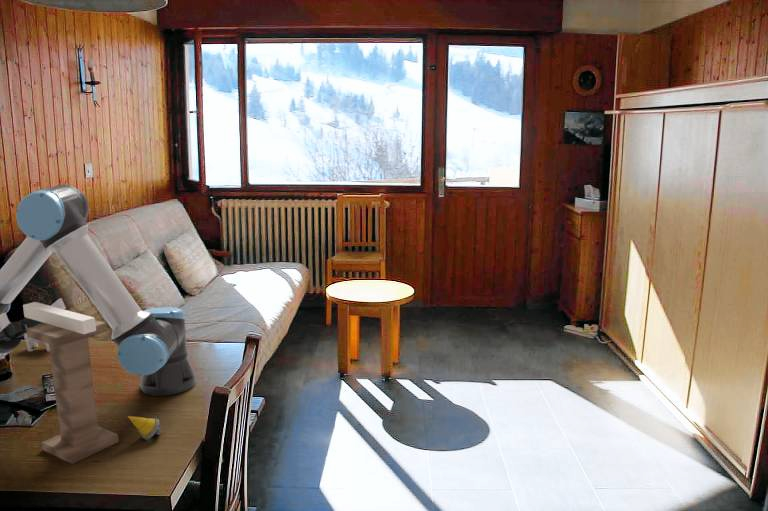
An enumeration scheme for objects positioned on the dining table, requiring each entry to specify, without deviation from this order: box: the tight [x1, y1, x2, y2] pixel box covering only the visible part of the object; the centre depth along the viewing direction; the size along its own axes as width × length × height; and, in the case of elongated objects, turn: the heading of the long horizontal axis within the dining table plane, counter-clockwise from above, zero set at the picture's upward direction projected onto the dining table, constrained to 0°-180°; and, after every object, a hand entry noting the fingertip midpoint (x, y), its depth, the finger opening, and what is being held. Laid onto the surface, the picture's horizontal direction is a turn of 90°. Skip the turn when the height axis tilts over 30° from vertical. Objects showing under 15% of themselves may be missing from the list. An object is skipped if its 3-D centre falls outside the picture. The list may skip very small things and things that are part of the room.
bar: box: [22, 301, 96, 334], centre depth 153 cm, size 24×3×3 cm, turn 57°
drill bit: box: [127, 415, 162, 441], centre depth 161 cm, size 5×5×10 cm
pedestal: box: [26, 319, 120, 465], centre depth 155 cm, size 12×12×30 cm
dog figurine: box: [23, 333, 50, 353], centre depth 222 cm, size 5×13×11 cm, turn 88°
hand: (35, 310), depth 157 cm, fingers open, 13 cm apart
